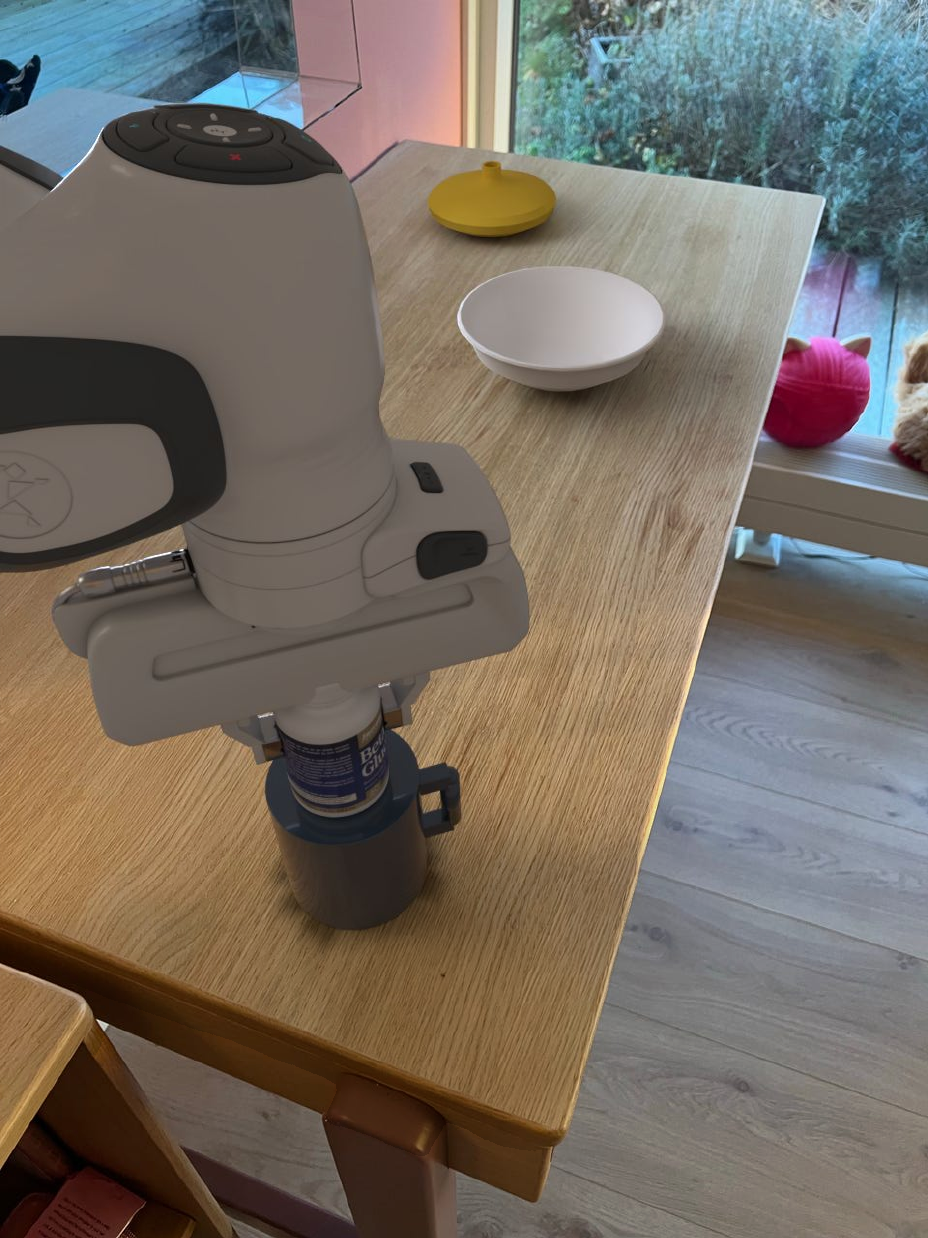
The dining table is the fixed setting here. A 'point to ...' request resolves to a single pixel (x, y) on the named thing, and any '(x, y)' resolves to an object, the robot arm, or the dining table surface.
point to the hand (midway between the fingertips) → (333, 734)
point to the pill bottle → (335, 750)
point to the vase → (491, 201)
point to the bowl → (561, 326)
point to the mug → (363, 842)
